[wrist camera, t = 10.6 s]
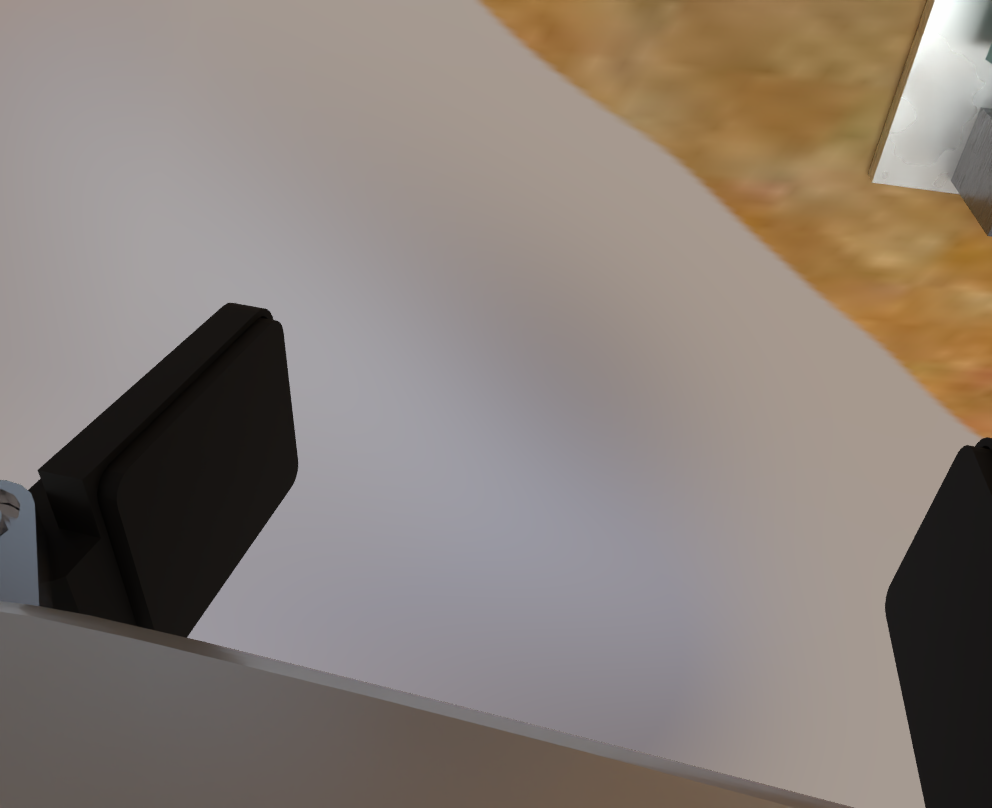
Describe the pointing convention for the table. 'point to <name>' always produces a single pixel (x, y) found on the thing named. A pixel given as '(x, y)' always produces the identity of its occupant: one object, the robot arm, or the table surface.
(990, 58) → the teal block
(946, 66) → the shaft rig
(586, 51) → the table surface
